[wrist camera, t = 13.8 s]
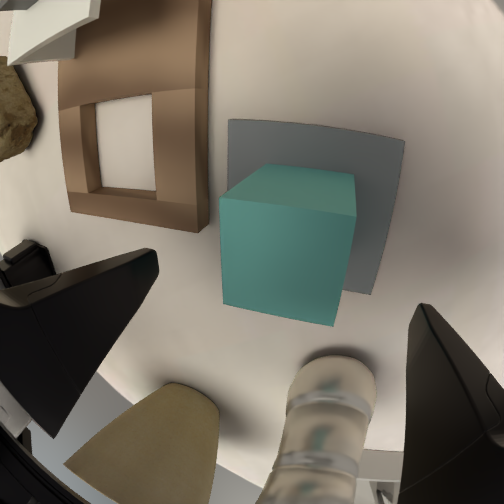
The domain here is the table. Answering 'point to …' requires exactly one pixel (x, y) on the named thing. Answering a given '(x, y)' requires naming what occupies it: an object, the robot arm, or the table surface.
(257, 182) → the teal block
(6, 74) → the stone block
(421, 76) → the table surface
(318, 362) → the plastic bottle
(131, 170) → the table surface
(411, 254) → the table surface
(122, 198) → the brown wooden board
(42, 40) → the cover
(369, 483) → the skate ramp
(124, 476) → the plant pot
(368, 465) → the organizer tray
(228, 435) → the table surface
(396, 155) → the slate mat
